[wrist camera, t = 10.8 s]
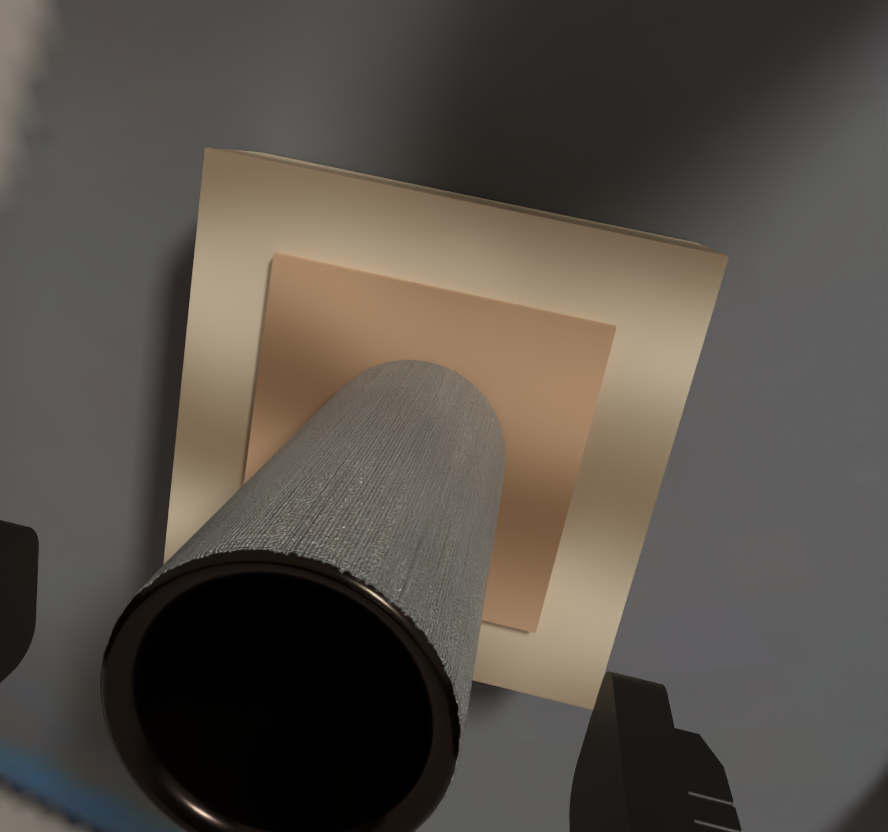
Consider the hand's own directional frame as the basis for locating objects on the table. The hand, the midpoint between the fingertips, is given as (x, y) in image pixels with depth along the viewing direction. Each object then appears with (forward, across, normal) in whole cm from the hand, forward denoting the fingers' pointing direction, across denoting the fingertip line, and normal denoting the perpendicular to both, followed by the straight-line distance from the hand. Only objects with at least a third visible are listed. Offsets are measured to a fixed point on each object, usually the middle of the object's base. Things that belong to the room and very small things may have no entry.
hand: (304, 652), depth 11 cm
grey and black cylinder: (+9, 0, 0) cm, 9 cm away
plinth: (+13, 0, 0) cm, 13 cm away
